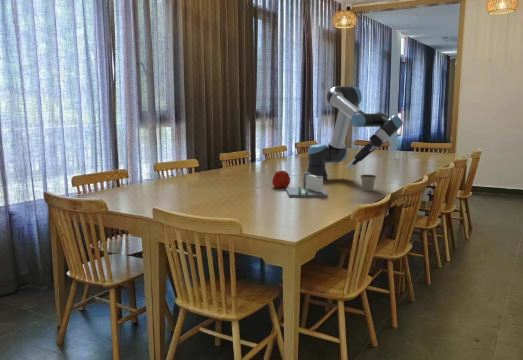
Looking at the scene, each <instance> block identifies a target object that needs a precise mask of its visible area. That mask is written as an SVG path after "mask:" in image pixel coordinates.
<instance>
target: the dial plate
mask: <svg viewBox="0 0 523 360" xmlns="http://www.w3.org/2000/svg"><path fill="white" fill-rule="evenodd" d="M285 191H286V194H287V195H288V197H289V198H328V193H327V192H326V191H325V189H323V192H316V191H313V190H310V189H308V187H307V186H306V187H305V188H303V187H302V186H301V185H299V186H298V187H285Z"/></svg>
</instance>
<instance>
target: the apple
mask: <svg viewBox="0 0 523 360" xmlns="http://www.w3.org/2000/svg"><path fill="white" fill-rule="evenodd" d="M290 184H291V177H290V175H289V173H288V172H287V171H285V170H278V171H276V172H274V175H273V177H272V185H273V187H274V188H276V189H284V188H285V189H286V188H289V185H290Z"/></svg>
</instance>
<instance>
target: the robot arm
mask: <svg viewBox="0 0 523 360" xmlns="http://www.w3.org/2000/svg"><path fill="white" fill-rule="evenodd" d="M362 98H363V96H362V91H361V90H360V88H359V87H357V86H352V85H350V86H349V85H348V86H342V85H341V86H340V85H336V86H333V87H331V88H330V89H329V90H328V92H327V94H326V100H327V103H328V104H329V105H330V106H331V107H333V108H336V109H337V110H338V112H337V116H336V120H335V126H334V130H333V134H332V137H331V140H330V141H329V142H328V144H327V145H326V144H325V143H318V144H317V143H316V144H312V145H310V146H309V147H308V159H307V160H308V161H307V164H308V166H307V170H306V172H310V173H311V175H315V176H323V181H325V180H328V178H329V177H328V176H329V175H328V173H327V168H326V164H331V163H332V164H333V163H334V164H338V163H342V162H344V161H345V160H346V159H347V156H348V148H347V146H346V144H345V140H346V137H347V133H348V129H349V126H350V122H351V125H352V126H353V127H354V128H370V127H371V128H378V129H377V130H376V131H375V132H374V134H372V135H371V136H370V137H369V138H368V139H369V141H370V142H368V143H367V144H364V145H363V147H362V148H361V149H360V150H359V151H358V153H356V154H355V155H354V158H353V159H352V160H351V161H350V162H349V163H348V164H347V165H346V167H347V169H348V170H349V171H350V170H352V169H353V168H354V167H355V166H356V165H357V164H358V163H360V162H361V161H363V160H364V159H365V158H367V156H369V155H370V154H371V153H373V152H374V151H375V149H376V148H378V149H379V148H380V147H382V145H383V144H384V143H385V142H386V141H389V139H390V138H391V137H392V136H393V135H394V134H395V133H396V132H398V130H400V128H401V127H402V126H403V125H404V122H403V120H402V119H401V118H400V117H399V116H398V115H396V114H393V115H391V117H390V116H388V115H387V114H385V113H384V112H382V111H375V112H373V113H366V112H364V111H363V110H361V109H360V108H358V107H357V106H359V105H360V104H361V103H362Z"/></svg>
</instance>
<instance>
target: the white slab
mask: <svg viewBox="0 0 523 360" xmlns="http://www.w3.org/2000/svg"><path fill="white" fill-rule="evenodd" d="M302 186H303V187H302V188H305V187H306V186H307V187H308V189H310V190H313V191H316V192H323V190H324V188H323V187H324V180H323V176H315V175H311V173H310V172H307V171H305V172H303V185H302Z"/></svg>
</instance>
